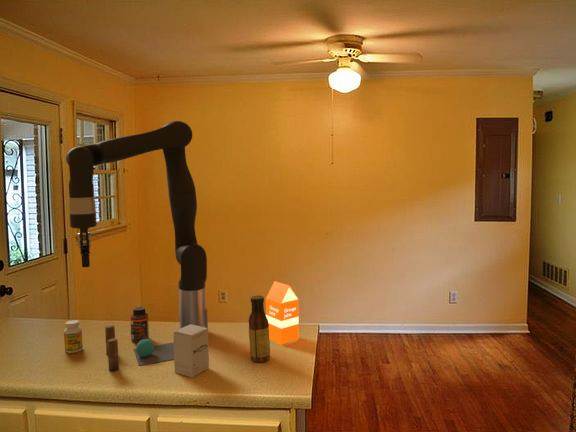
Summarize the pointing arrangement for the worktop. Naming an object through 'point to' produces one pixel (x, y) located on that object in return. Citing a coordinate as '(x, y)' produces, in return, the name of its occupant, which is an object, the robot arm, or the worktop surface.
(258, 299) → the sauce bottle
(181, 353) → the supplement box
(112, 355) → the post near
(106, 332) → the post far
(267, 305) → the orange juice
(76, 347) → the supplement bottle
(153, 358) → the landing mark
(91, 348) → the worktop surface
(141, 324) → the supplement bottle
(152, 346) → the ball
